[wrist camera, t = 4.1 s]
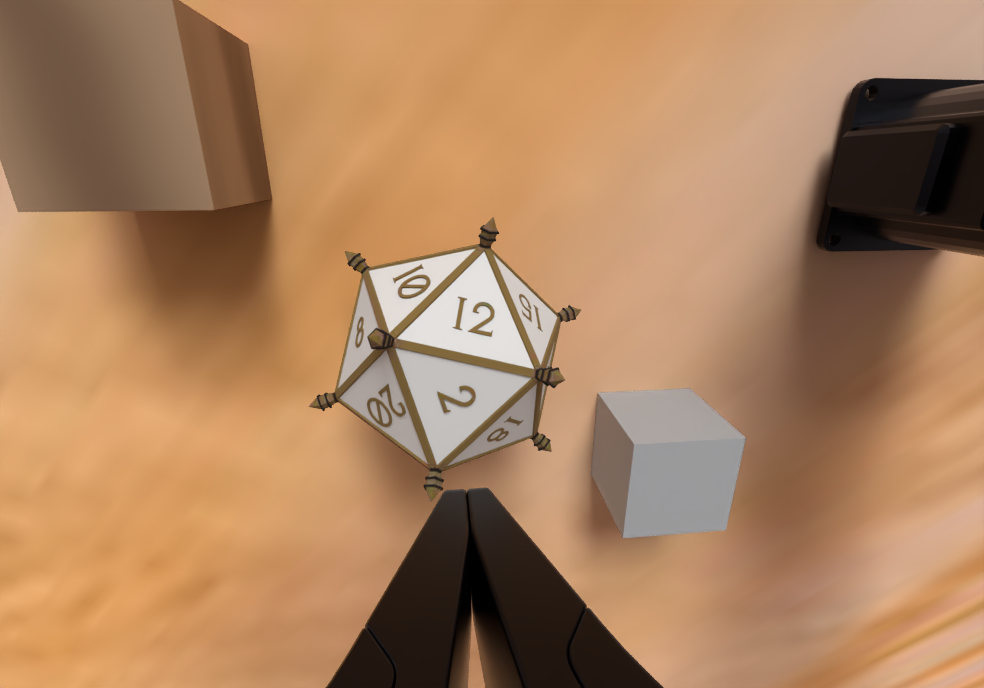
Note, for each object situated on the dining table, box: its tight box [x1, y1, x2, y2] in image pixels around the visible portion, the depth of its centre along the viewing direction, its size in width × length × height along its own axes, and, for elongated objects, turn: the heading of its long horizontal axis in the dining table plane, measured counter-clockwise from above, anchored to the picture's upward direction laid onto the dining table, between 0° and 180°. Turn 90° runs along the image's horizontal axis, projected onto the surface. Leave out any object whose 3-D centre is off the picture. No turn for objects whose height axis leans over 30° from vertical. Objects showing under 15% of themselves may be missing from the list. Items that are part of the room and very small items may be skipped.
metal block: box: [0, 0, 272, 212], centre depth 14 cm, size 5×5×5 cm
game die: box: [309, 217, 581, 501], centre depth 16 cm, size 9×8×10 cm
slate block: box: [591, 388, 746, 538], centre depth 21 cm, size 4×4×4 cm
